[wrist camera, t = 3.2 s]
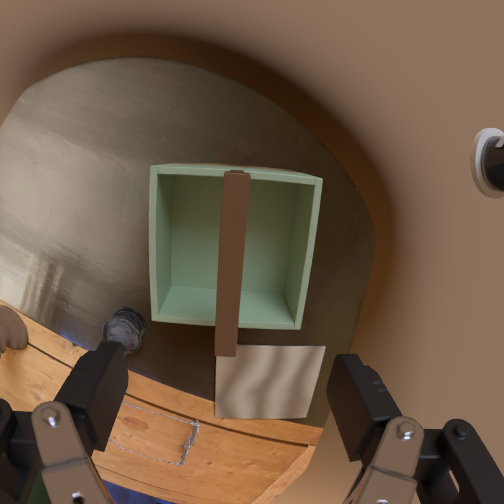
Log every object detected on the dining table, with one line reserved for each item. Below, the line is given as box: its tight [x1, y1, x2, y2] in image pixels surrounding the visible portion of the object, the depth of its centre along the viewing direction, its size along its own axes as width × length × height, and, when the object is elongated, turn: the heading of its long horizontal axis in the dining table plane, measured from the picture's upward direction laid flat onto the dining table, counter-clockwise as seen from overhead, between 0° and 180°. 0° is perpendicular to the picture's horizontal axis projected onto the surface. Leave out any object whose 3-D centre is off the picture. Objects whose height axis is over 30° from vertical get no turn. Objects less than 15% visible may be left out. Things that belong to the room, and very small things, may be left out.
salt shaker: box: [102, 307, 145, 357], centre depth 35 cm, size 6×6×12 cm
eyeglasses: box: [109, 401, 199, 466], centre depth 45 cm, size 15×18×4 cm
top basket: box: [149, 164, 323, 357], centre depth 25 cm, size 13×13×11 cm
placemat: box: [215, 344, 325, 419], centre depth 45 cm, size 16×16×1 cm
